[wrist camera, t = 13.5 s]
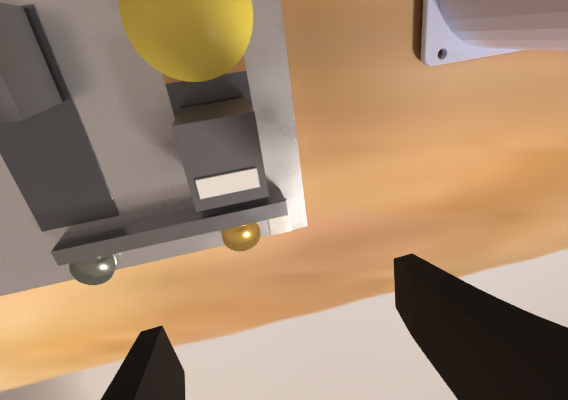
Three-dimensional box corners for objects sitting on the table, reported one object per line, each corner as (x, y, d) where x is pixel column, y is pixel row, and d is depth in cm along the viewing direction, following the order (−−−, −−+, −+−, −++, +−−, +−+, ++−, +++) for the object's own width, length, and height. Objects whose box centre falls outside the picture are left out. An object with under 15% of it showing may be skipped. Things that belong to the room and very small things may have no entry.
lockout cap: (253, 56, 15) (268, 61, 12) (166, 82, 15) (153, 97, 11) (223, -52, 13) (229, -84, 10) (122, -23, 13) (91, -46, 9)
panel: (262, -100, 14) (274, -131, 11) (302, 216, 21) (315, 241, 18) (-236, -51, 12) (-354, -74, 9) (-10, 286, 18) (-43, 324, 16)
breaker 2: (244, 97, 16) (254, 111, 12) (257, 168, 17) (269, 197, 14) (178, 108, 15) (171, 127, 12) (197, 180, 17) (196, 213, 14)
